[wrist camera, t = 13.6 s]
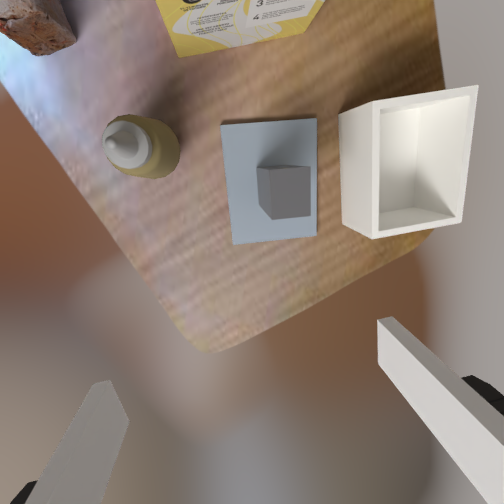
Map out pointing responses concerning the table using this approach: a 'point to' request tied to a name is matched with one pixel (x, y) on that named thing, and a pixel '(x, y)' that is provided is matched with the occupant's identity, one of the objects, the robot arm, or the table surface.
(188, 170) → the table surface
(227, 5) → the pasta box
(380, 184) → the carton
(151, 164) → the squeeze bottle
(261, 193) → the lid
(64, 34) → the food item
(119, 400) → the robot arm
